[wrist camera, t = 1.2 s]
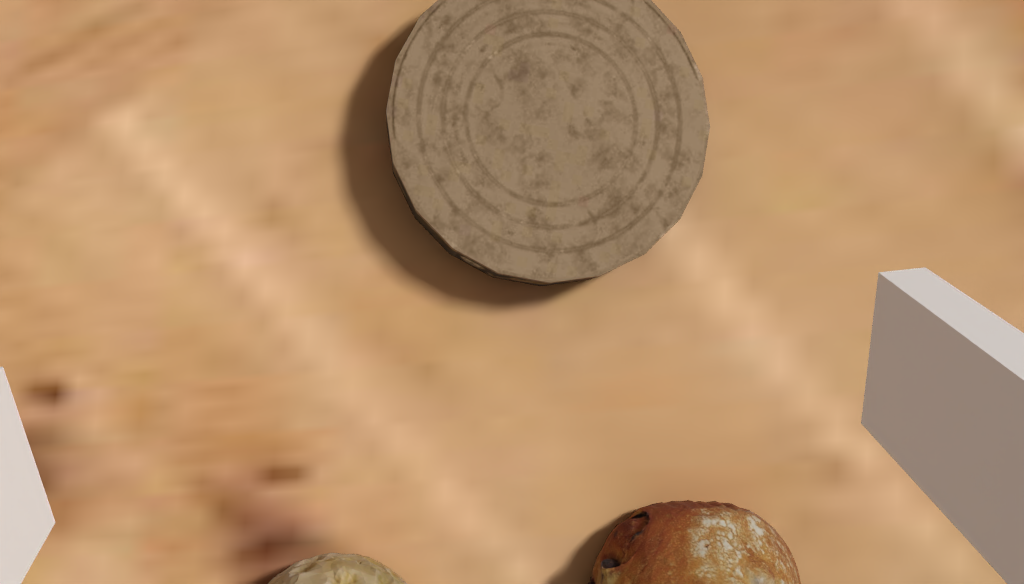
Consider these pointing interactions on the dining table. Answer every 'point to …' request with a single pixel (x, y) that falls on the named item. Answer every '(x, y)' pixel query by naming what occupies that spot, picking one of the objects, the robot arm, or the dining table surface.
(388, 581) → the coral
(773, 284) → the dining table surface
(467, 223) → the round stone disc
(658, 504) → the bread roll
